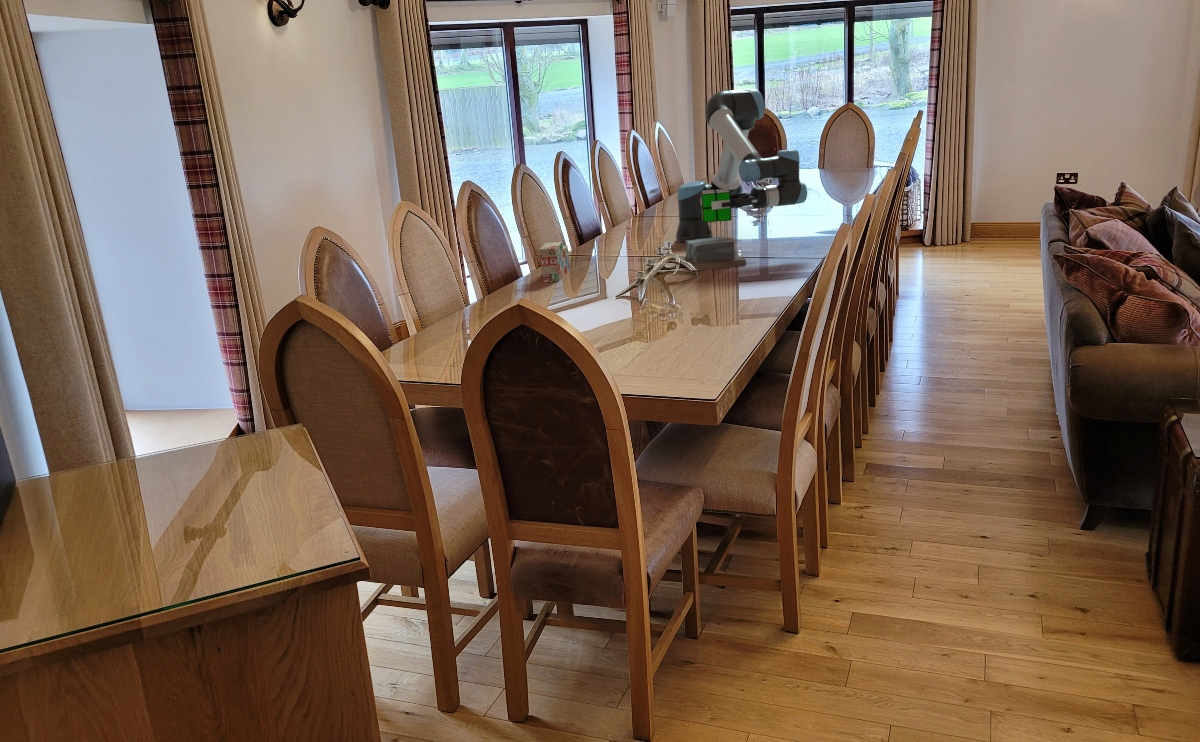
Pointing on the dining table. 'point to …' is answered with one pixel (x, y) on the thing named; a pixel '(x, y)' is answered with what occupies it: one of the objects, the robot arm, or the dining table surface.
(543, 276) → the stack of blocks
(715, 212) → the puzzle cube
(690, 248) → the tower base
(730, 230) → the dining table surface
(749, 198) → the robot arm
